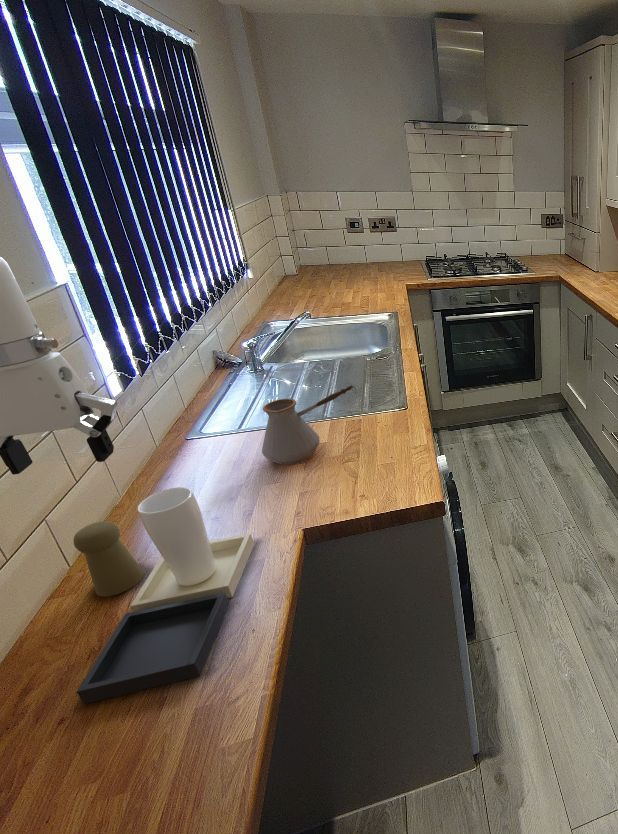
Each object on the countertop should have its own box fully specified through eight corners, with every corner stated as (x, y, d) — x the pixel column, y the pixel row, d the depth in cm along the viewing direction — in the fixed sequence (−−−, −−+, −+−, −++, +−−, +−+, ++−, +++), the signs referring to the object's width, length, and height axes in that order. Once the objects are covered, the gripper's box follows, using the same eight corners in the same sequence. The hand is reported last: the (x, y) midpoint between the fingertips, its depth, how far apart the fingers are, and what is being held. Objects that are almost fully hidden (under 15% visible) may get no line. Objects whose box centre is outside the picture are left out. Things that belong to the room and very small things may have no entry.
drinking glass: (217, 554, 89) (188, 481, 83) (227, 575, 85) (196, 499, 78) (168, 575, 85) (133, 499, 79) (176, 598, 80) (139, 520, 74)
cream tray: (135, 618, 78) (129, 606, 77) (170, 560, 89) (165, 549, 88) (232, 597, 81) (227, 585, 80) (254, 544, 92) (250, 533, 91)
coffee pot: (260, 473, 112) (239, 411, 106) (270, 447, 122) (252, 389, 116) (367, 454, 119) (353, 395, 113) (369, 431, 129) (356, 375, 122)
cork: (123, 596, 82) (94, 541, 77) (85, 596, 82) (53, 541, 77) (153, 568, 87) (128, 515, 83) (118, 568, 87) (90, 515, 83)
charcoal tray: (84, 704, 66) (75, 691, 65) (131, 625, 77) (125, 613, 76) (200, 675, 69) (194, 663, 68) (229, 604, 80) (225, 592, 79)
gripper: (102, 335, 74) (148, 440, 81) (-56, 349, 69) (7, 460, 76) (72, 353, 67) (124, 466, 74) (-106, 371, 62) (-31, 489, 70)
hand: (65, 463), depth 75 cm, fingers open, 9 cm apart
